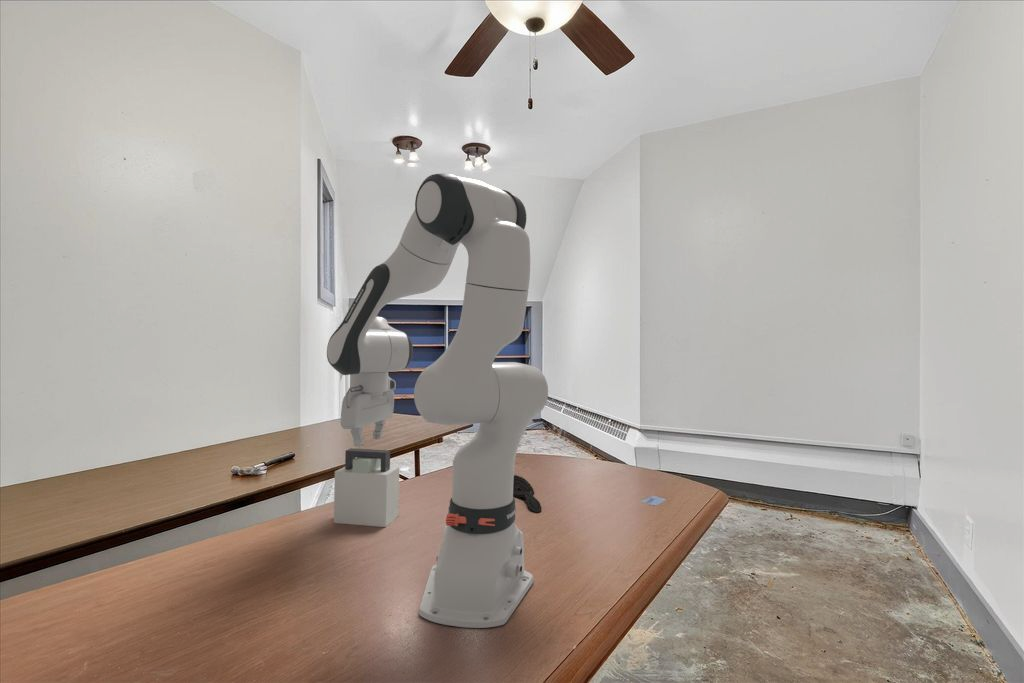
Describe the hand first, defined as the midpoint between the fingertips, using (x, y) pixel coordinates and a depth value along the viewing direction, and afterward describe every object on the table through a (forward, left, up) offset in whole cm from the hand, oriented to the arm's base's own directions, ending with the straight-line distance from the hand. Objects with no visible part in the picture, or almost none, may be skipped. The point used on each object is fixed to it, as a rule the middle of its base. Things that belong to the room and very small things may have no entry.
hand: (368, 442), depth 113 cm
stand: (0, 0, -19) cm, 19 cm away
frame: (0, 0, -7) cm, 7 cm away
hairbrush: (+25, -34, -19) cm, 46 cm away
